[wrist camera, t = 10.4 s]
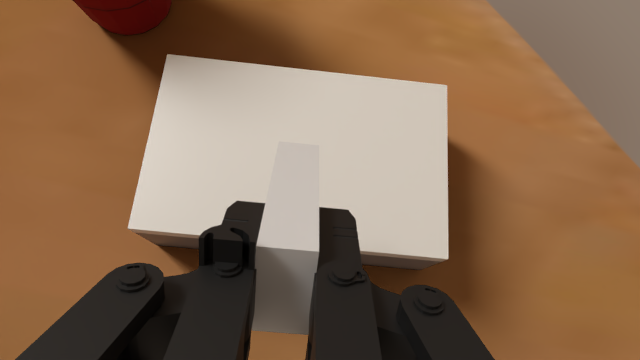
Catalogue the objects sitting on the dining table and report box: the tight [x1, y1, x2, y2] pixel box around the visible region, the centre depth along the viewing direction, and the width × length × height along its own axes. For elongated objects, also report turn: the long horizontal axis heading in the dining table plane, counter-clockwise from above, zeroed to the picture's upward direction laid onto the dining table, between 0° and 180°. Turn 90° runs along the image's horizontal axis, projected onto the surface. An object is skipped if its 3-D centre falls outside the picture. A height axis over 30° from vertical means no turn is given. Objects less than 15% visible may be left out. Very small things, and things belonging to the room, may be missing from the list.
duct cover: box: [128, 54, 448, 262], centre depth 24 cm, size 16×10×1 cm, turn 85°
